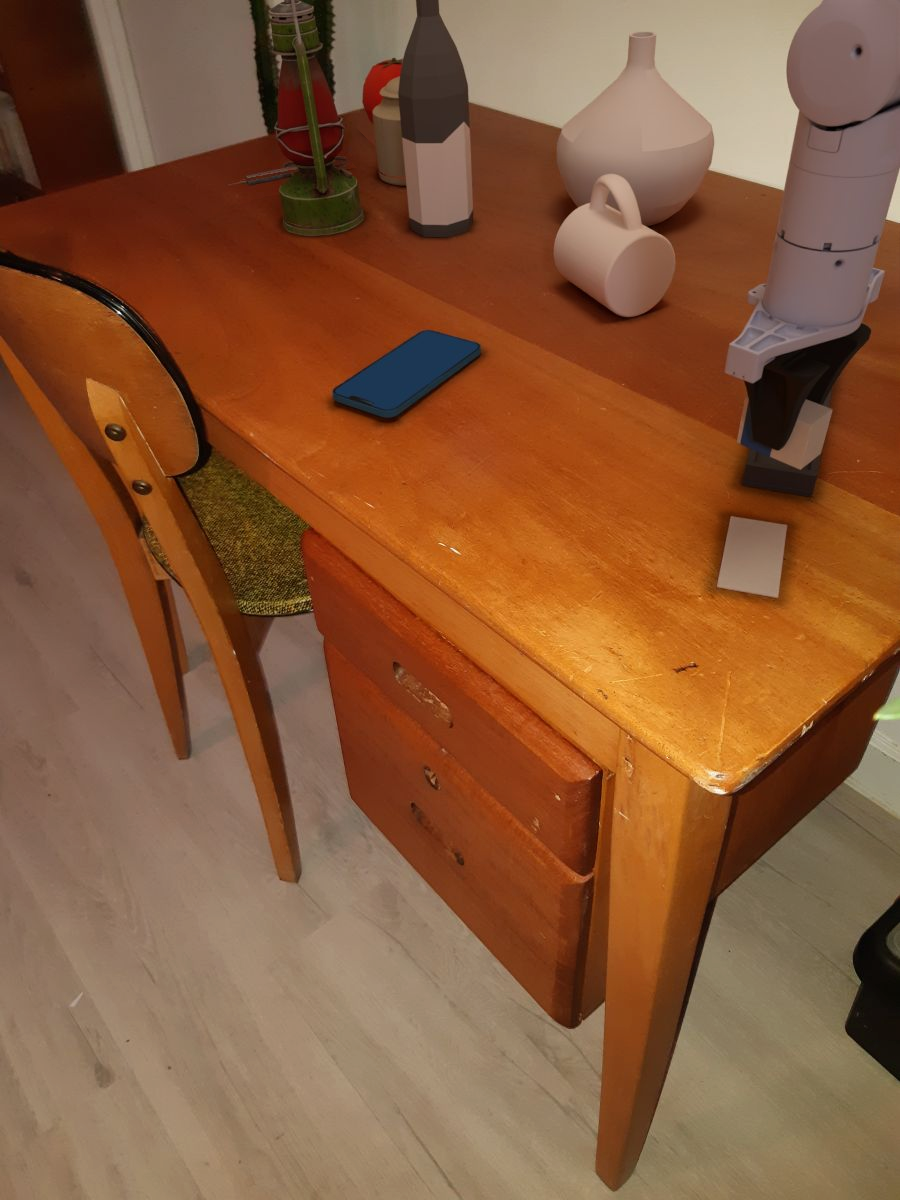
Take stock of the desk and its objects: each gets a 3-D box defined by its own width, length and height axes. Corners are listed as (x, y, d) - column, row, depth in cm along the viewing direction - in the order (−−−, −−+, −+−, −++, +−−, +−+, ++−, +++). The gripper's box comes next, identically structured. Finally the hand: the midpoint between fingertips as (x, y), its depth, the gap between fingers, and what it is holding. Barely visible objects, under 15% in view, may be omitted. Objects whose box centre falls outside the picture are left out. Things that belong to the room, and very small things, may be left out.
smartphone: (485, 344, 85) (390, 413, 77) (485, 353, 86) (391, 423, 77) (424, 327, 89) (326, 392, 80) (425, 336, 89) (328, 401, 81)
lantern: (373, 232, 110) (338, -66, 90) (289, 246, 109) (233, -54, 88) (354, 196, 120) (319, -80, 99) (277, 207, 119) (225, -70, 98)
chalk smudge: (777, 598, 59) (778, 597, 59) (716, 587, 60) (716, 586, 60) (786, 526, 64) (787, 524, 64) (730, 517, 65) (730, 516, 65)
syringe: (222, 183, 127) (219, 171, 126) (339, 159, 132) (337, 147, 131) (235, 199, 122) (233, 186, 121) (357, 173, 127) (355, 161, 126)
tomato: (452, 123, 142) (448, 49, 135) (400, 146, 135) (393, 69, 128) (400, 114, 147) (394, 43, 140) (347, 135, 140) (338, 61, 133)
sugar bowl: (356, 164, 130) (341, 46, 120) (423, 149, 133) (414, 33, 123) (398, 192, 120) (386, 67, 110) (469, 175, 123) (464, 52, 113)
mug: (602, 326, 88) (610, 203, 80) (551, 289, 95) (553, 172, 87) (671, 306, 91) (686, 184, 82) (616, 271, 98) (624, 155, 89)
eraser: (821, 454, 60) (833, 408, 58) (800, 470, 59) (811, 425, 57) (757, 427, 63) (766, 383, 61) (735, 443, 62) (744, 398, 59)
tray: (811, 497, 67) (817, 475, 65) (741, 485, 68) (745, 464, 67) (845, 297, 90) (850, 278, 88) (792, 292, 91) (796, 273, 90)
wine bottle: (434, 210, 115) (413, -79, 94) (486, 219, 111) (477, -79, 90) (397, 231, 110) (367, -67, 89) (450, 243, 106) (431, -66, 86)
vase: (667, 253, 100) (688, 61, 87) (528, 227, 108) (528, 48, 95) (727, 199, 111) (754, 21, 98) (596, 179, 119) (605, 12, 106)
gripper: (830, 182, 57) (787, 373, 66) (695, 255, 50) (668, 456, 59) (939, 207, 53) (877, 406, 62) (808, 289, 46) (761, 498, 55)
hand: (781, 433), depth 60 cm, fingers closed on eraser, 3 cm apart
